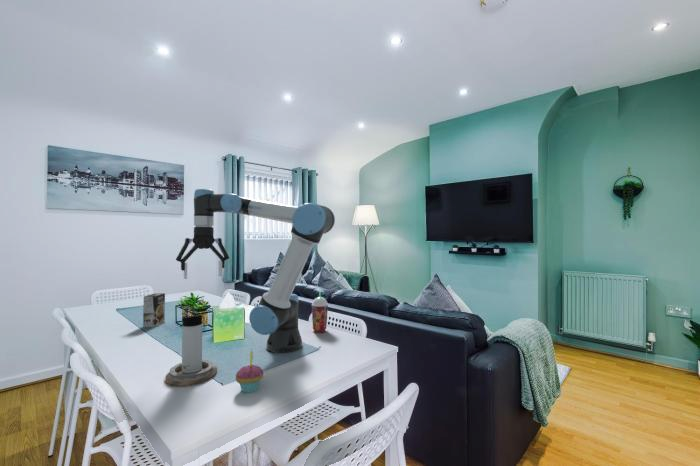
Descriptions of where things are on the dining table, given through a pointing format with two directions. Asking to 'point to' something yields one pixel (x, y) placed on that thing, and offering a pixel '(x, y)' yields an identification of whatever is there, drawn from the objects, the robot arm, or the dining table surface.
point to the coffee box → (154, 310)
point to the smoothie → (319, 314)
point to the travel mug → (192, 344)
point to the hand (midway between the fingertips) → (203, 277)
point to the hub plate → (180, 384)
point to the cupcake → (249, 376)
